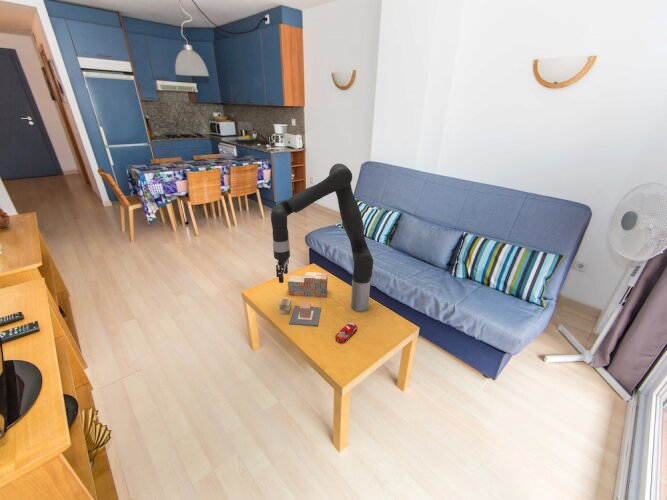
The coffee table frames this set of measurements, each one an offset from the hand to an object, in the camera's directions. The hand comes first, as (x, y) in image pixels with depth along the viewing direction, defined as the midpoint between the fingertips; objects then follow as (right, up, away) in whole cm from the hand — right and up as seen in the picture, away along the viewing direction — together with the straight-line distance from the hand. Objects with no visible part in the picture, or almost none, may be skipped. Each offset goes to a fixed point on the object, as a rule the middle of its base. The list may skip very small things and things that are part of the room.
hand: (283, 277), depth 146 cm
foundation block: (+10, -19, +5) cm, 22 cm away
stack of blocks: (+10, -11, +23) cm, 28 cm away
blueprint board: (+10, -20, +5) cm, 23 cm away
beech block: (0, -18, +9) cm, 20 cm away
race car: (+30, -26, -6) cm, 41 cm away
